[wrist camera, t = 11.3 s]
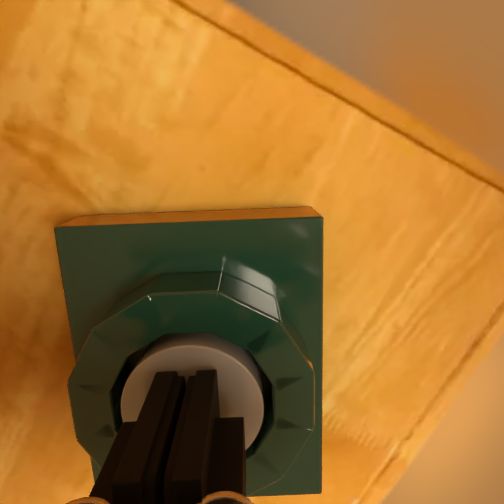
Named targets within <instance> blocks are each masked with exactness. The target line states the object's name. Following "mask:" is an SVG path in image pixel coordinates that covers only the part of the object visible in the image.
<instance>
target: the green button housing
mask: <svg viewBox="0 0 504 504" xmlns="http://www.w3.org/2000/svg"><path fill="white" fill-rule="evenodd" d="M54 232H55V238H56V244H57V251H58V257H59V263H60V269H61V276H62V282H63V288H64V294H65V301H66V307H67V313H68V319H69V326H70V332H71V338H72V344H73V351H74V357H75V363H76V364H75V366H74V368H73V370H72V372H71V374H70V377H69V379H68V384H67V386H68V392H69V398H70V404H71V410H72V416H73V422H74V428H75V434H76V438H77V441H78V443H79V444H80V445H81V446H82V447H83V448H84V449H85V451H86V452H87V453H88V454H89V455H90V457H91V463H92V469H93V476H94V482H96V480H97V478H98V475H99V473H100V471H101V469H102V467H103V464H104V462H105V460H106V458H107V456H108V453H109V451H110V449H111V447H112V445H113V443H114V440H115V438H116V436H117V434H118V432H119V429H120V427H121V425H122V424H123V419H122V415H121V396H122V392H123V388H124V386H125V383H126V381H127V379H128V377H129V375H130V373H131V371H132V369H133V367H134V365H135V363H136V361H137V359H138V358H139V356H140V354H141V352H142V350H143V348H144V347H145V346H146V345H148V344H150V343H151V342H153V341H155V340H156V339H158V338H160V337H161V336H163V335H165V334H180V333H204V332H210V333H212V334H214V335H216V336H218V337H221V338H223V339H225V340H227V341H229V342H231V343H233V344H235V345H237V346H240V347H242V348H244V349H246V350H248V351H249V352H250V353H251V355H252V356H253V357H254V359H255V360H256V362H257V363H258V365H259V366H260V368H261V372H262V385H263V399H264V416H263V421H262V425H261V428H260V431H259V432H258V434H257V436H256V438H255V440H254V441H253V442H252V444H251V445H250V446H249V447H248V448H247V449H246V497H254V496H278V495H302V494H321V492H322V373H323V217H322V216H321V215H320V214H319V213H318V212H317V211H316V210H315V209H313V208H312V207H287V208H261V209H236V210H210V211H184V212H159V213H133V214H108V215H83V216H81V217H78V218H76V219H73V220H71V221H68V222H66V223H63V224H61V225H59V226H56V227H54Z"/></svg>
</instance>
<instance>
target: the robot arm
mask: <svg viewBox="0 0 504 504" xmlns="http://www.w3.org/2000/svg"><path fill="white" fill-rule="evenodd" d="M66 504H253V503H252V502H251V501H250V500H249V498H247V497H246V449H245V427H244V417H226V418H220V410H219V395H218V379H217V370H216V369H215V370H197V372H196V376H189V379H188V383H187V387H186V386H185V378H184V376H178V373H177V371H166V372H156V374H155V376H154V379H153V381H152V384H151V386H150V389H149V391H148V393H147V396H146V398H145V401H144V403H143V406H142V408H141V411H140V413H139V416H138V418H137V420H136V421H129V422H124V423H123V424H122V425H121V427H120V429H119V432H118V434H117V436H116V438H115V440H114V443H113V445H112V447H111V449H110V451H109V453H108V456H107V458H106V460H105V462H104V464H103V467H102V469H101V471H100V473H99V475H98V478H97V480H96V482H95V484H94V486H93V489H92V491H91V493H90V495H89V497H83V498H79V499H76V500H72V501H70V502H68V503H66Z"/></svg>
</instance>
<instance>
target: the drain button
mask: <svg viewBox="0 0 504 504" xmlns="http://www.w3.org/2000/svg"><path fill="white" fill-rule="evenodd" d="M215 369H216V370H217V379H218V395H219V410H220V418H226V417H244V427H245V449H247V448H248V447H249V446H250V445H251V444H252V442H253V441H254V440H255V438H256V436H257V434H258V432H259V431H260V428H261V425H262V421H263V416H264V399H263V385H262V372H261V368H260V366H259V365H258V363H257V362H256V360H255V359H254V357H253V356H252V355H251V353H250V352H249V351H248V350H246V349H244V348H242V347H240V346H237V345H235V344H233V343H231V342H229V341H227V340H225V339H223V338H221V337H218V336H216V335H214V334H212V333H210V332H204V333H180V334H165V335H163V336H161V337H160V338H158V339H156V340H155V341H153V342H151V343H150V344H148V345H146V346H145V347H144V348H143V350H142V352H141V354H140V356H139V358H138V359H137V361H136V363H135V365H134V367H133V369H132V371H131V373H130V375H129V377H128V379H127V381H126V383H125V386H124V388H123V392H122V396H121V415H122V419H123V423H124V422H129V421H136V420H137V418H138V416H139V413H140V411H141V408H142V406H143V403H144V401H145V398H146V396H147V393H148V391H149V389H150V386H151V384H152V381H153V379H154V376H155V374H156V372H166V371H177V373H178V376H184V378H185V386H186V387H187V383H188V379H189V376H196V372H197V370H215Z"/></svg>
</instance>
